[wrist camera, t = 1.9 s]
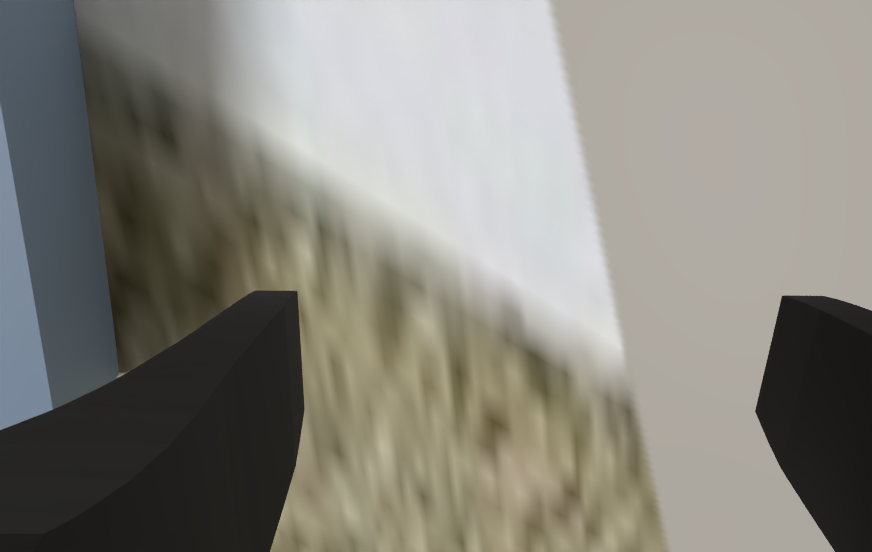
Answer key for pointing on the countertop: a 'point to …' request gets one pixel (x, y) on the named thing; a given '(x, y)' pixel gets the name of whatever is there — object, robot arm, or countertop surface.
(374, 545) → the countertop surface
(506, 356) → the countertop surface
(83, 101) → the blue-grey rectangular block
